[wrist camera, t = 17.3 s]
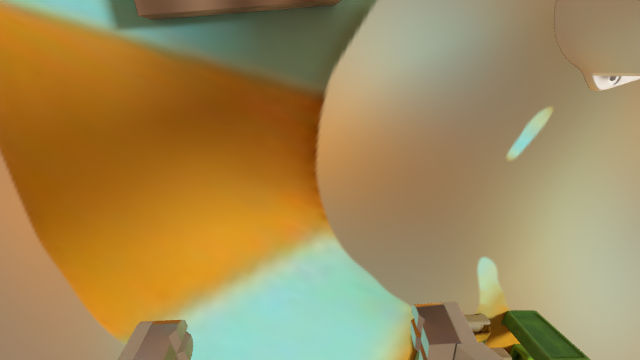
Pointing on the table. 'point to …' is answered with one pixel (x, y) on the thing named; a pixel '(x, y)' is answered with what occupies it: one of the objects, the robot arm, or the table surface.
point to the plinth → (217, 7)
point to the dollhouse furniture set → (527, 337)
